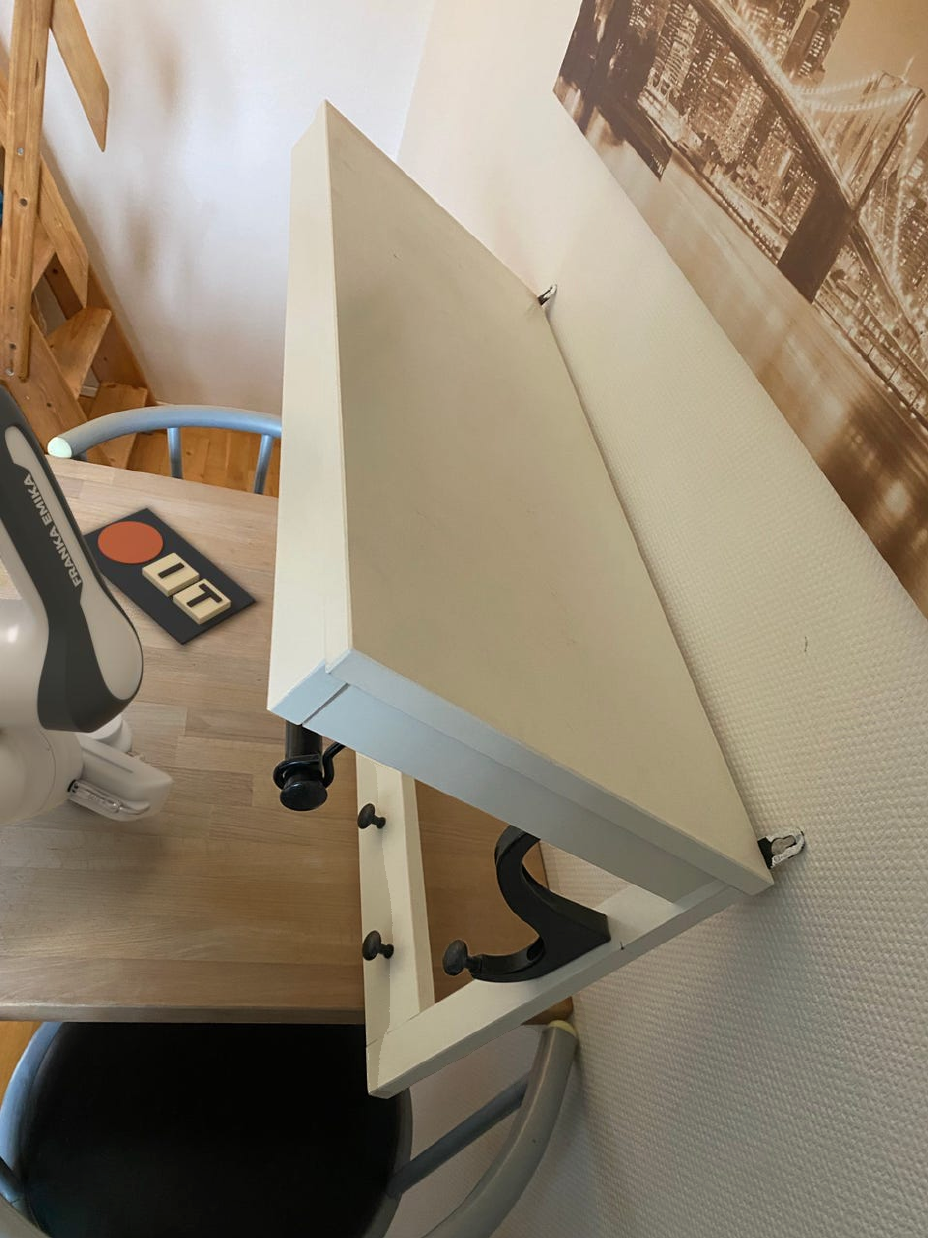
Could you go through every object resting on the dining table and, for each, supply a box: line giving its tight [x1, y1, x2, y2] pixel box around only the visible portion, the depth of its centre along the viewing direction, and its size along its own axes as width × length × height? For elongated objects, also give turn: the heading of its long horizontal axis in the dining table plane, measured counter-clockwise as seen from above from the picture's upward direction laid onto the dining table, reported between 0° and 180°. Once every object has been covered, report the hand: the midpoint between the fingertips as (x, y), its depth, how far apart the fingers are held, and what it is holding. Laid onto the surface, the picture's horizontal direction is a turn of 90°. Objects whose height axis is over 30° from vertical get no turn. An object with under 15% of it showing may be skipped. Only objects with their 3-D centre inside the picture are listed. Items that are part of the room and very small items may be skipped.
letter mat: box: [82, 507, 257, 646], centre depth 107 cm, size 22×12×2 cm, turn 52°
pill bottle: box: [79, 712, 133, 753], centre depth 83 cm, size 6×6×12 cm
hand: (101, 743), depth 83 cm, fingers closed on pill bottle, 6 cm apart
